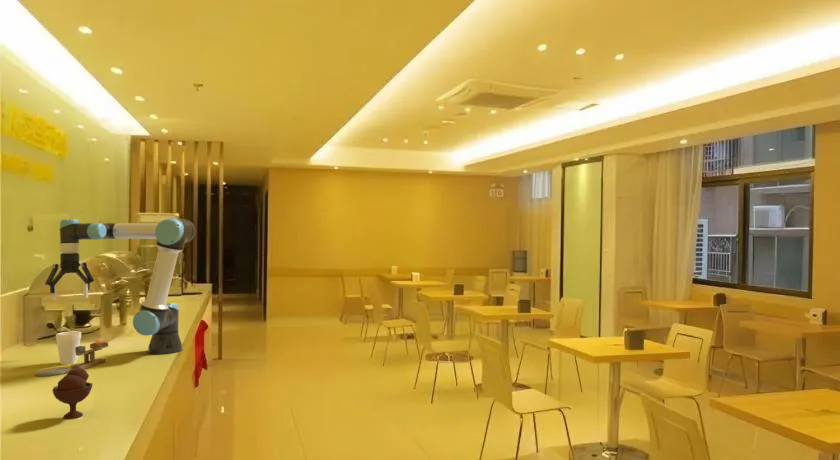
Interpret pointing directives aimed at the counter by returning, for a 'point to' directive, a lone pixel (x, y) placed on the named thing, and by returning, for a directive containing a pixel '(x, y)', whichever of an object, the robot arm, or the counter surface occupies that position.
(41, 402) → the counter surface
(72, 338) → the foam cup
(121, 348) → the counter surface
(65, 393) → the ice cream bowl
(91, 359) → the catapult
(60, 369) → the coaster
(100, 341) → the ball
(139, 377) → the counter surface
